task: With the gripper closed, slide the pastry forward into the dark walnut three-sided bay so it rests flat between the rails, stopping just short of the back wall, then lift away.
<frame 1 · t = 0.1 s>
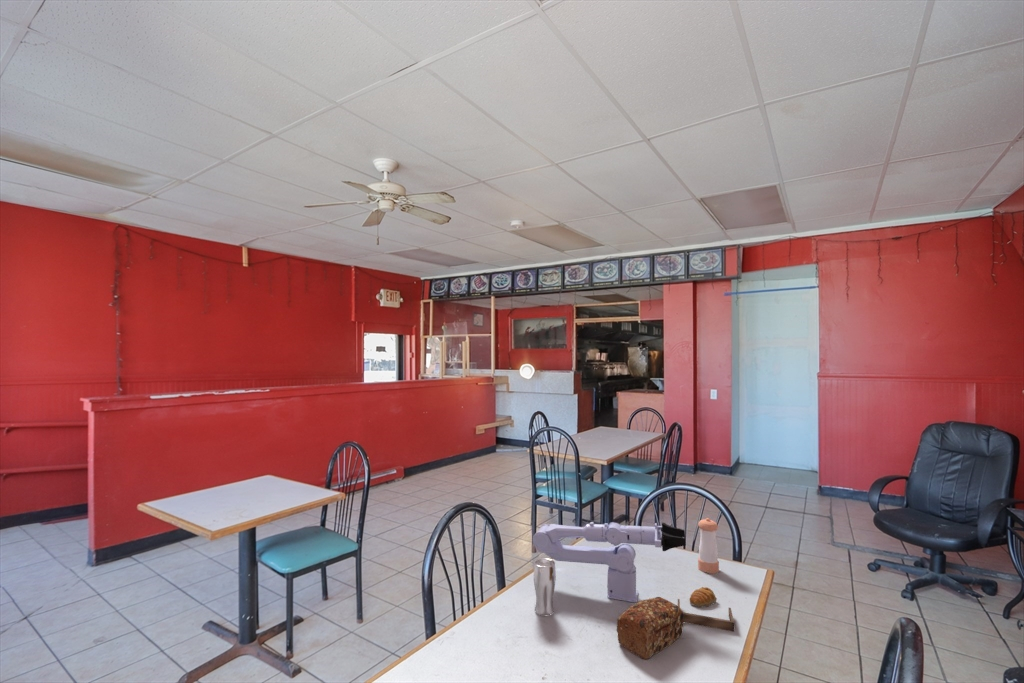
hand: (685, 537, 151), 22 cm above the table, tool horizontal, fingers open, 7 cm apart
pastry: (702, 603, 153), on the table
pepper shaker: (708, 569, 177), on the table
beer glass: (544, 611, 146), on the table
bread: (650, 641, 131), on the table
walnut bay: (704, 618, 143), on the table
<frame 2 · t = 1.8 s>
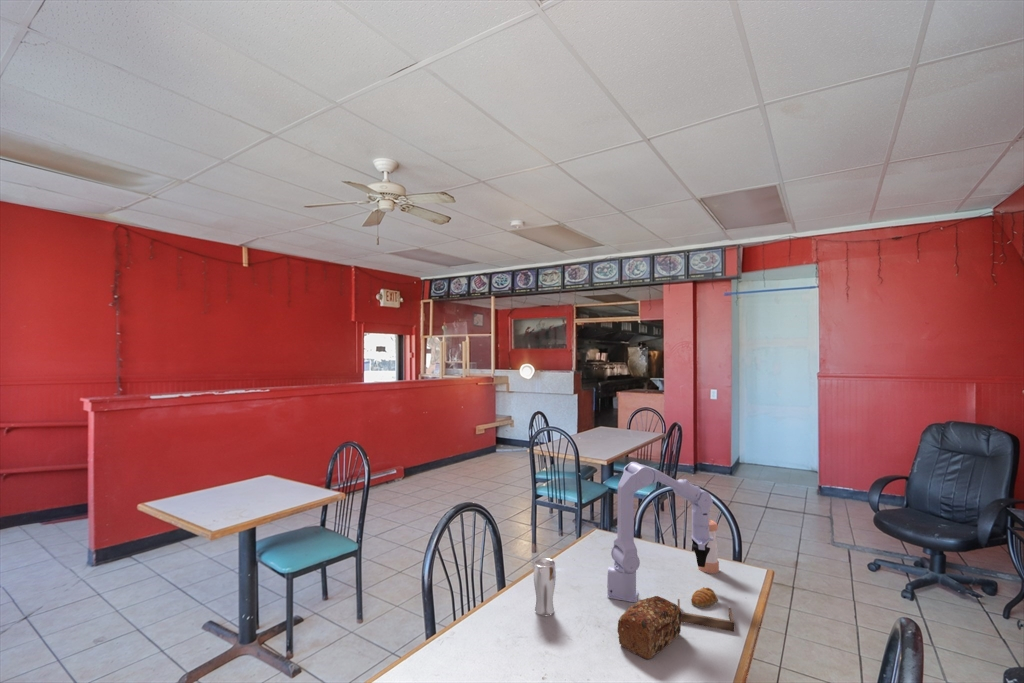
hand: (700, 563, 163), 8 cm above the table, tool pointing down, fingers open, 5 cm apart
nothing on the table moved.
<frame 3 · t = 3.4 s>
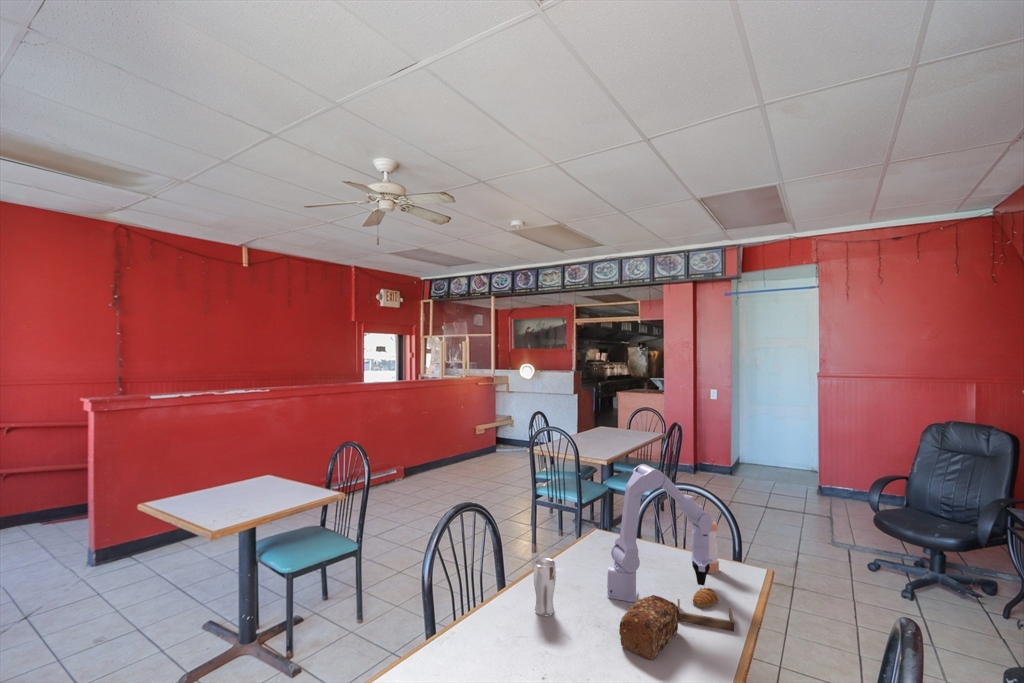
hand: (700, 584, 163), 1 cm above the table, tool pointing down, fingers closed
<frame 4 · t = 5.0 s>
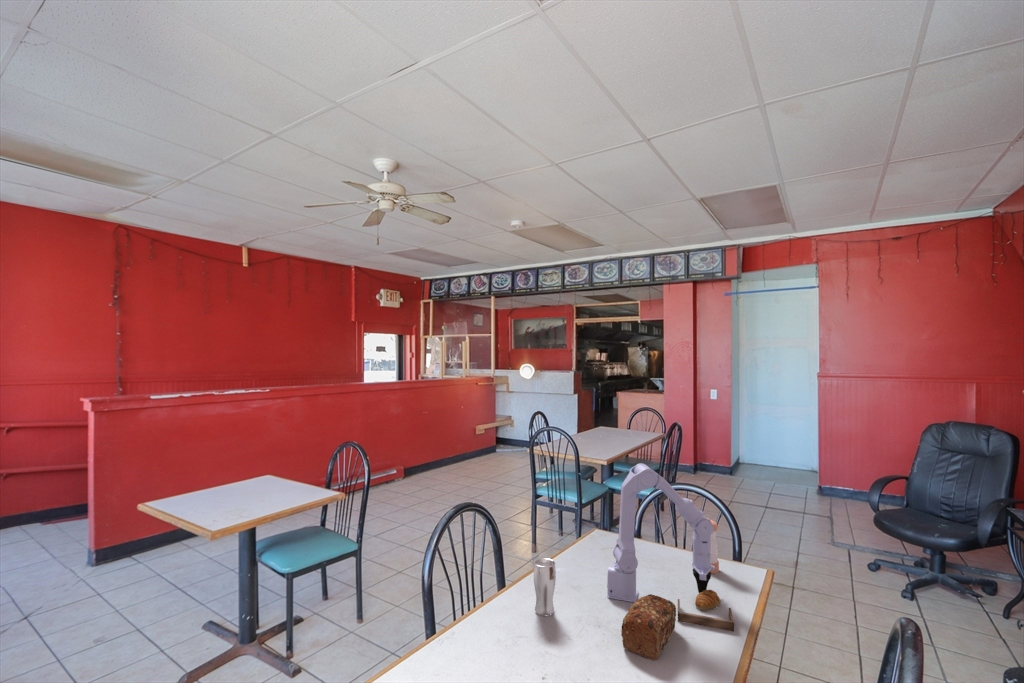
hand: (701, 592, 156), 1 cm above the table, tool pointing down, fingers closed
pastry: (707, 605, 151), on the table, touching gripper
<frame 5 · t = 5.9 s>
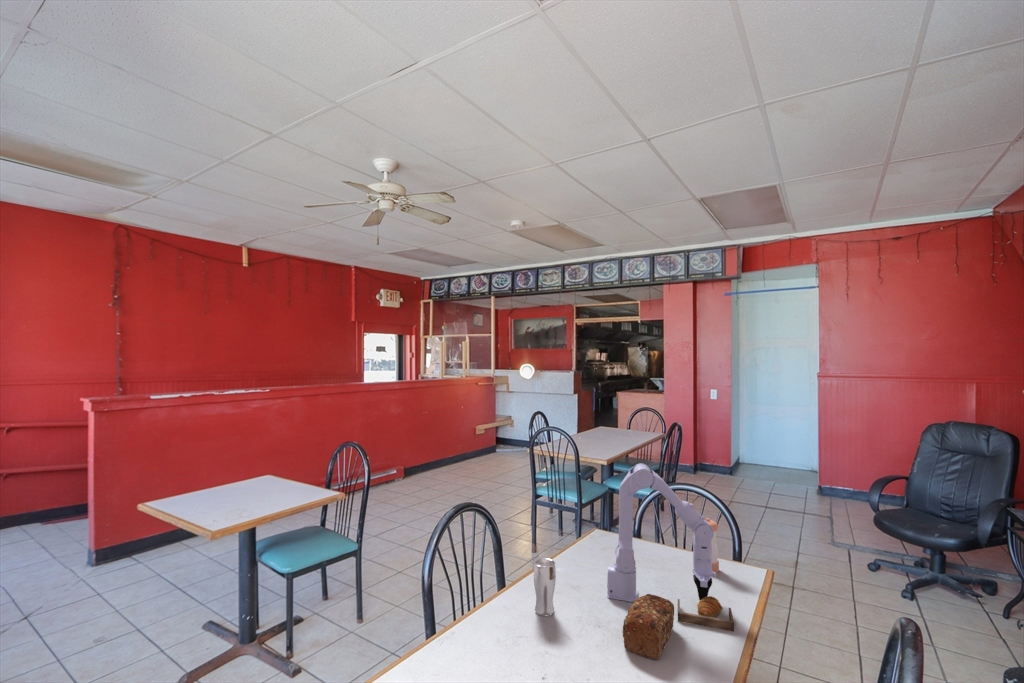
hand: (702, 600, 152), 1 cm above the table, tool pointing down, fingers closed
pastry: (709, 613, 146), on the table, touching gripper
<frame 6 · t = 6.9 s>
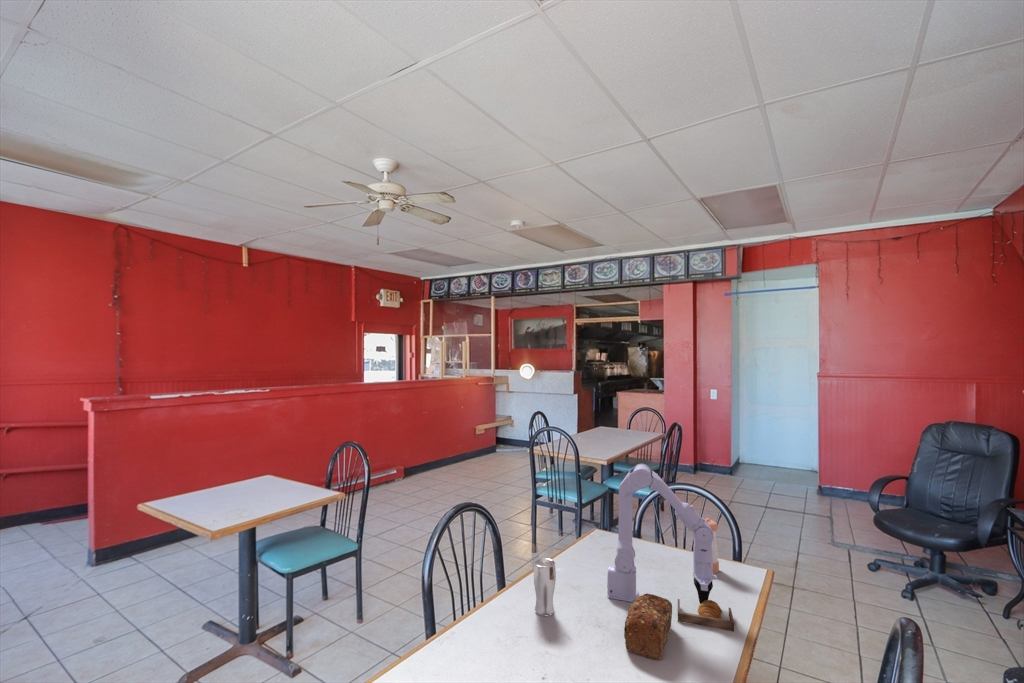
hand: (703, 603, 149), 1 cm above the table, tool pointing down, fingers closed
pastry: (710, 618, 144), on the table
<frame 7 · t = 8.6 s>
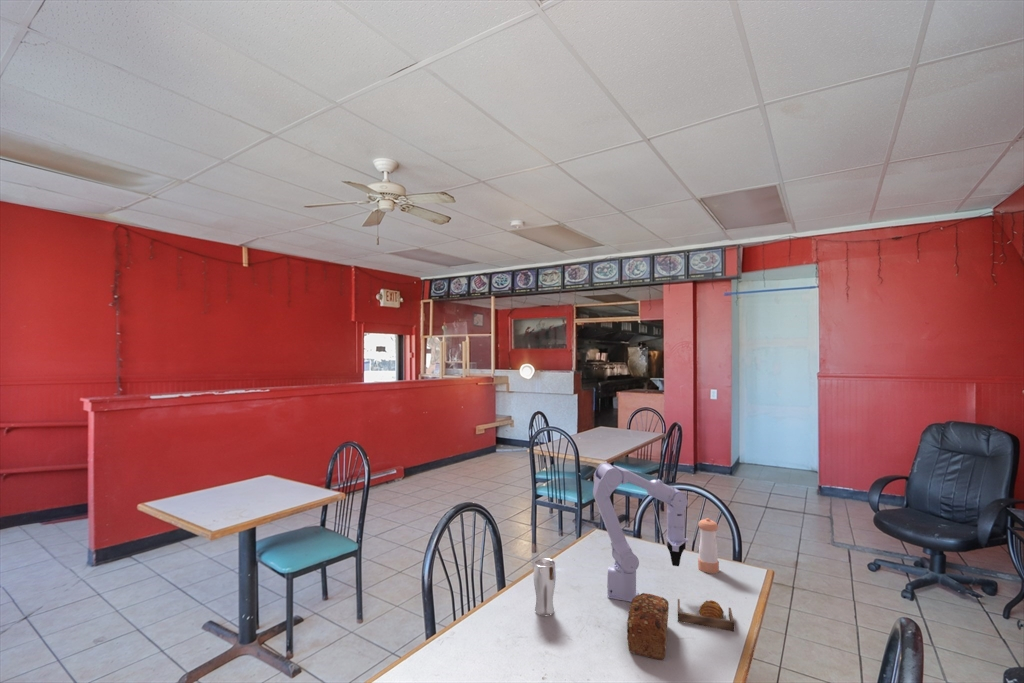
hand: (675, 565, 159), 9 cm above the table, tool pointing down, fingers closed
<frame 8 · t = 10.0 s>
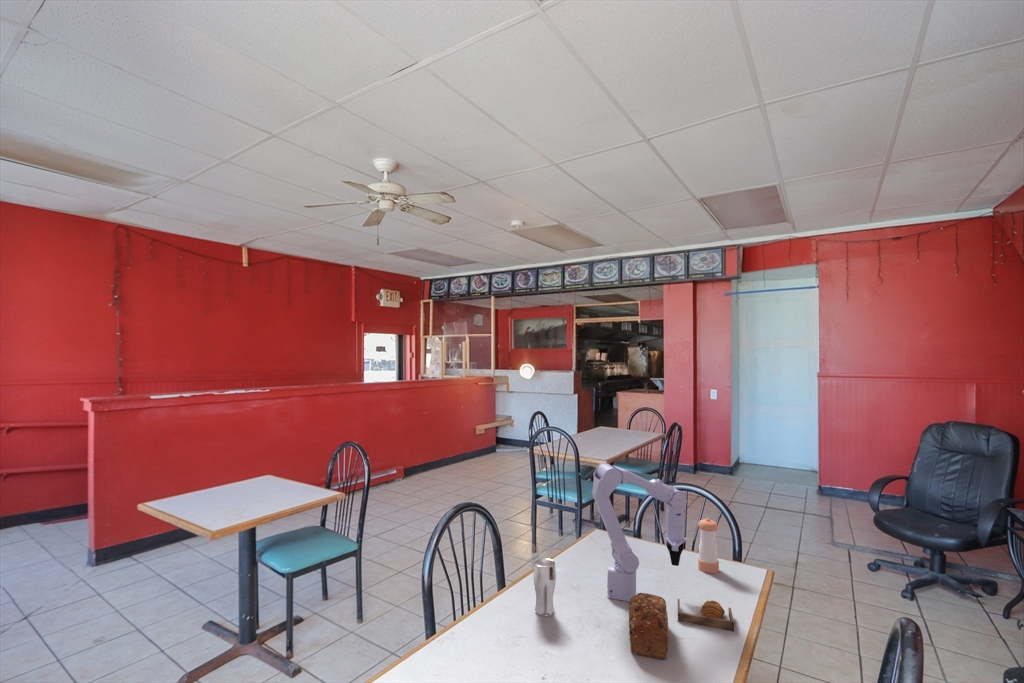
hand: (675, 564, 159), 9 cm above the table, tool pointing down, fingers closed
at the end: pastry inside the target area (2.6 cm from its centre), on the table; pastry moved 9.4 cm from its start; the gripper is holding nothing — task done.
